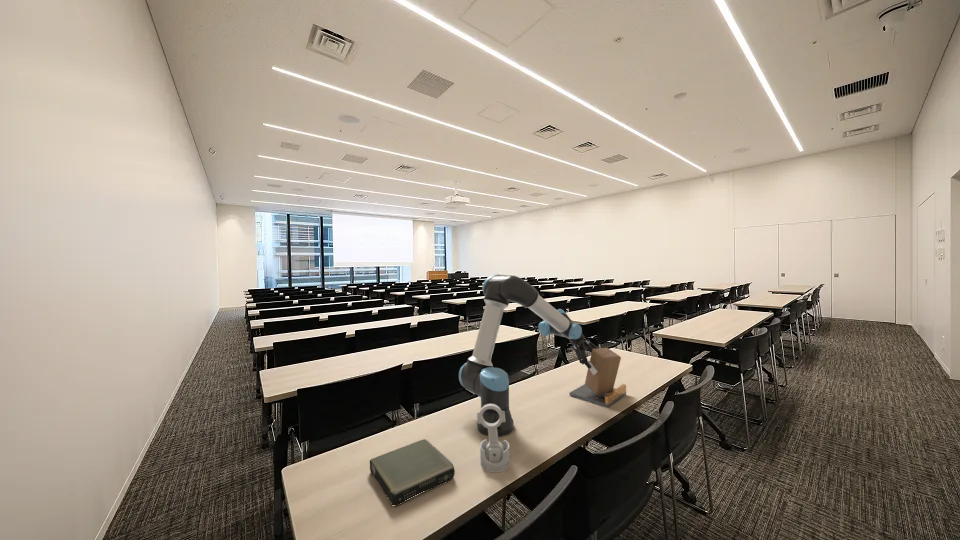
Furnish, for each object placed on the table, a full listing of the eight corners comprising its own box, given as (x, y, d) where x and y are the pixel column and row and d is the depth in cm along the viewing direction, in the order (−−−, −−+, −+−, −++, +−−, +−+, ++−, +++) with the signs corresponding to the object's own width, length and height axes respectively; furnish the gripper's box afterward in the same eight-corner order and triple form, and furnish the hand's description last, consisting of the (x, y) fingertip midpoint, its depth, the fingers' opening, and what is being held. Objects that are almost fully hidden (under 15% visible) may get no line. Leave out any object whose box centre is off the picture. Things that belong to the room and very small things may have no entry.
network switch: (422, 447, 126) (421, 434, 126) (462, 476, 109) (462, 461, 109) (362, 476, 110) (361, 461, 110) (398, 515, 93) (398, 498, 93)
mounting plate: (569, 395, 168) (569, 385, 168) (588, 384, 182) (588, 375, 182) (608, 407, 154) (608, 397, 154) (626, 394, 168) (626, 384, 168)
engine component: (509, 473, 110) (509, 455, 120) (508, 411, 109) (508, 398, 119) (476, 472, 111) (479, 454, 121) (474, 411, 110) (478, 398, 120)
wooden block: (583, 383, 170) (591, 348, 166) (599, 382, 174) (607, 346, 170) (596, 395, 161) (605, 358, 157) (612, 393, 165) (622, 356, 161)
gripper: (581, 335, 187) (608, 368, 176) (556, 343, 169) (584, 380, 159) (590, 326, 183) (618, 360, 172) (566, 335, 165) (595, 372, 155)
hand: (602, 370), depth 166 cm, fingers open, 12 cm apart
